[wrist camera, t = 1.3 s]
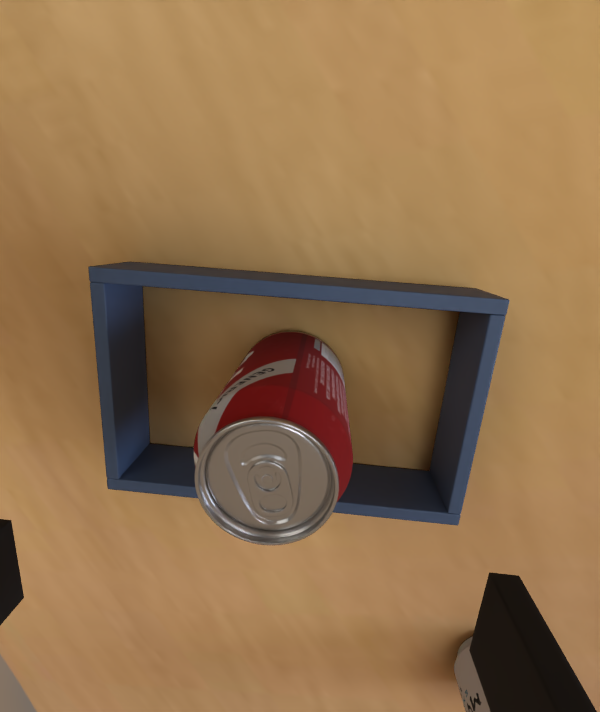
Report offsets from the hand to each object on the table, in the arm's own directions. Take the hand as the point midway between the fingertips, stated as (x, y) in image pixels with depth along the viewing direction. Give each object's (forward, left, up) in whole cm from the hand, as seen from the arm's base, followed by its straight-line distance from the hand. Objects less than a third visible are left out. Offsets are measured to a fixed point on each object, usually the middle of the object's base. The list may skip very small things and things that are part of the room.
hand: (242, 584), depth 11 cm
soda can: (0, 0, -16) cm, 16 cm away
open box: (0, 0, -16) cm, 16 cm away
